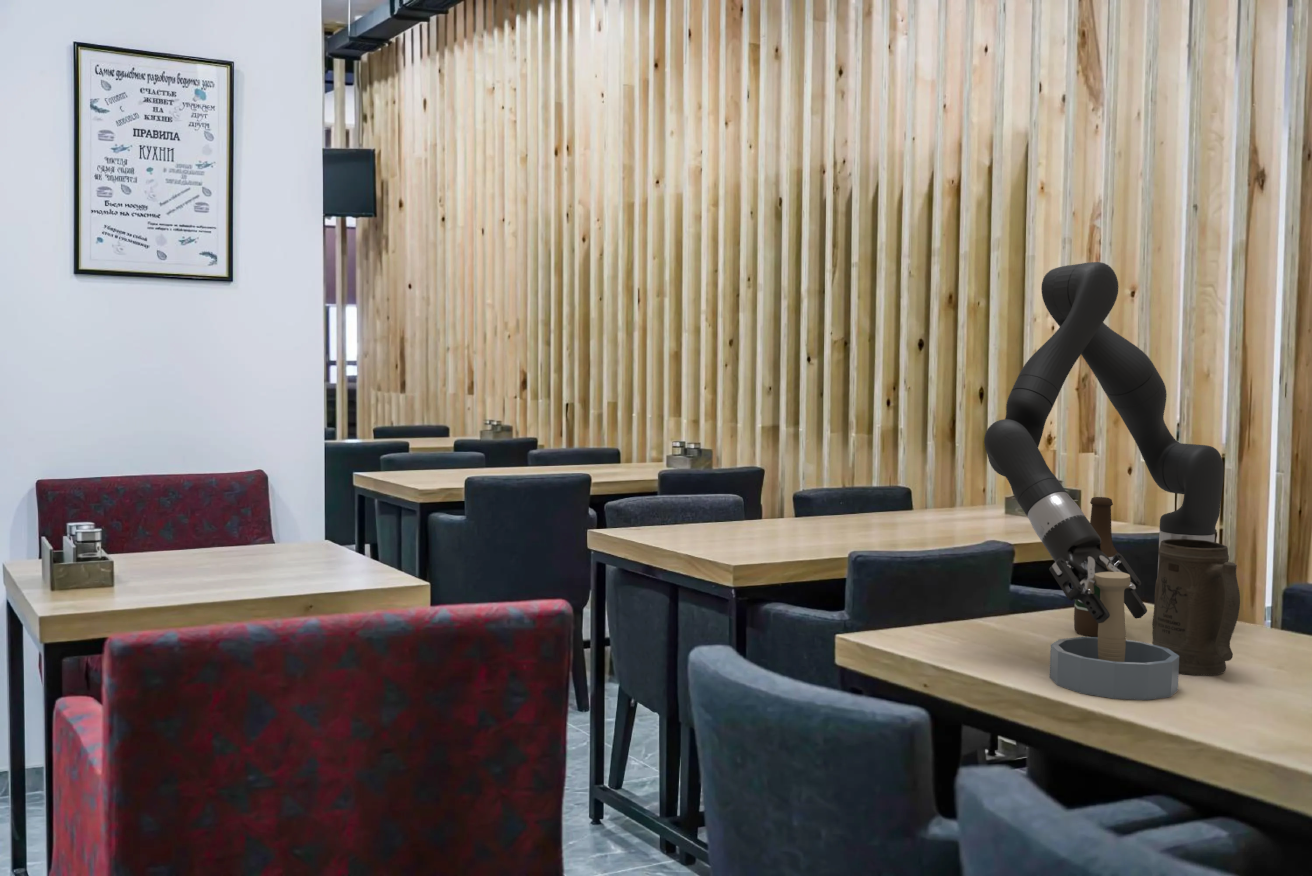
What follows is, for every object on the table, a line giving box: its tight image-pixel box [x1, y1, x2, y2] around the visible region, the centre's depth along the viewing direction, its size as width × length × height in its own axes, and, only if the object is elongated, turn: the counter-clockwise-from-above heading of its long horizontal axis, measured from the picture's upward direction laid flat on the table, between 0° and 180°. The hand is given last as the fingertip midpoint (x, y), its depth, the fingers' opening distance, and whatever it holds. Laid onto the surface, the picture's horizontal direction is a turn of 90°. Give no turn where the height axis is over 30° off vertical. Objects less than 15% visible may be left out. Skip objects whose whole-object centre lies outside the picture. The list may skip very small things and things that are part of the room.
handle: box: [1095, 571, 1131, 662], centre depth 174 cm, size 5×6×15 cm
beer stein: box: [1151, 539, 1241, 676], centre depth 183 cm, size 15×11×20 cm
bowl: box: [1049, 636, 1180, 701], centre depth 174 cm, size 17×17×5 cm
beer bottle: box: [1073, 496, 1119, 637], centre depth 208 cm, size 8×8×24 cm
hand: (1123, 617), depth 173 cm, fingers open, 7 cm apart
